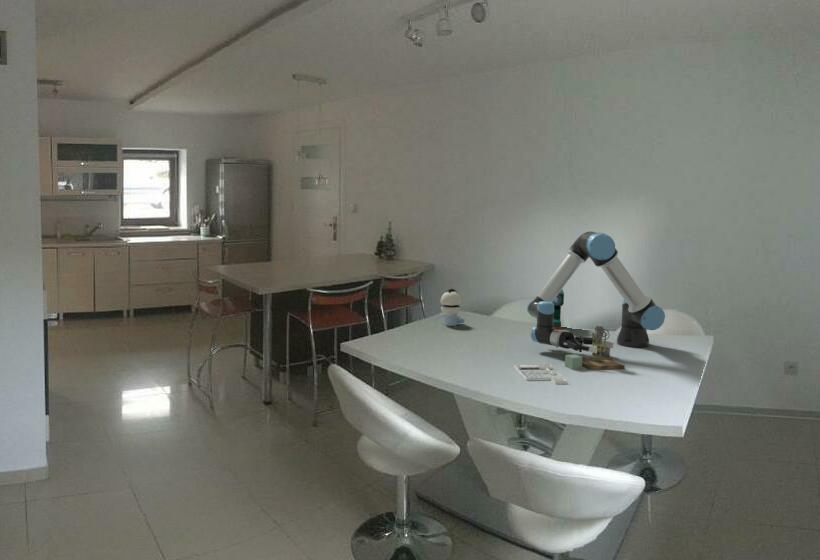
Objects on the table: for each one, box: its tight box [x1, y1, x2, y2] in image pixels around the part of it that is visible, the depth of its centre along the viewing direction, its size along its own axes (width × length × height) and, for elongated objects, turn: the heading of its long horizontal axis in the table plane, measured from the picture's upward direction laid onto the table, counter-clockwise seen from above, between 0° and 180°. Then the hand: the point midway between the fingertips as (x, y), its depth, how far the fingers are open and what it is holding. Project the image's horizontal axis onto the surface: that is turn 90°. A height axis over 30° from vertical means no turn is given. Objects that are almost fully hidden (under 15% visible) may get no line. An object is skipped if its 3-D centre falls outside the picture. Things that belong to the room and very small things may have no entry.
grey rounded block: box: [599, 346, 611, 357], centre depth 309 cm, size 6×6×5 cm
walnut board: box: [581, 355, 625, 371], centre depth 294 cm, size 16×16×2 cm
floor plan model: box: [513, 363, 568, 385], centre depth 276 cm, size 15×25×2 cm, turn 5°
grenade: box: [590, 325, 611, 362], centre depth 293 cm, size 7×7×15 cm
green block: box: [564, 353, 583, 370], centre depth 288 cm, size 5×5×5 cm
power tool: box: [552, 288, 565, 330], centre depth 369 cm, size 32×7×20 cm, turn 168°
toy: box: [439, 288, 465, 327], centre depth 375 cm, size 16×13×20 cm
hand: (605, 347), depth 291 cm, fingers open, 13 cm apart
